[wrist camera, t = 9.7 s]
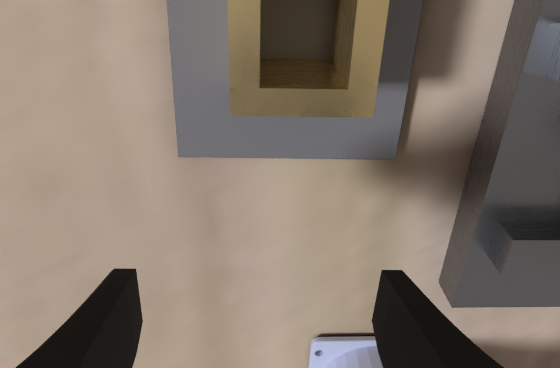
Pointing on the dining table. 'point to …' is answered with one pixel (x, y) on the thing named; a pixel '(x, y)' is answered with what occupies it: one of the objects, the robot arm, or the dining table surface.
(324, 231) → the dining table surface
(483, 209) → the vise
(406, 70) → the mat
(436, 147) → the dining table surface
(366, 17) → the collar
